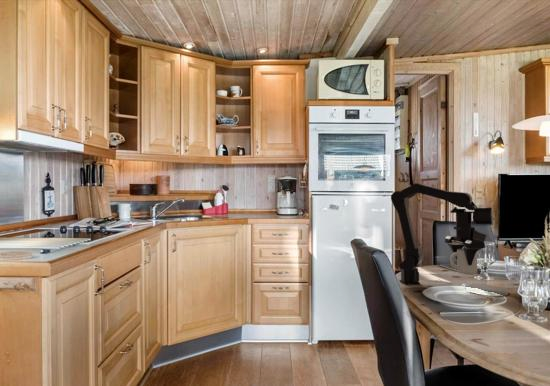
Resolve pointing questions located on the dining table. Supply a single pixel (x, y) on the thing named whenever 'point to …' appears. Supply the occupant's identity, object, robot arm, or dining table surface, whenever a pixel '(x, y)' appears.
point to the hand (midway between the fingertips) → (464, 263)
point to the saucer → (491, 289)
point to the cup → (463, 263)
